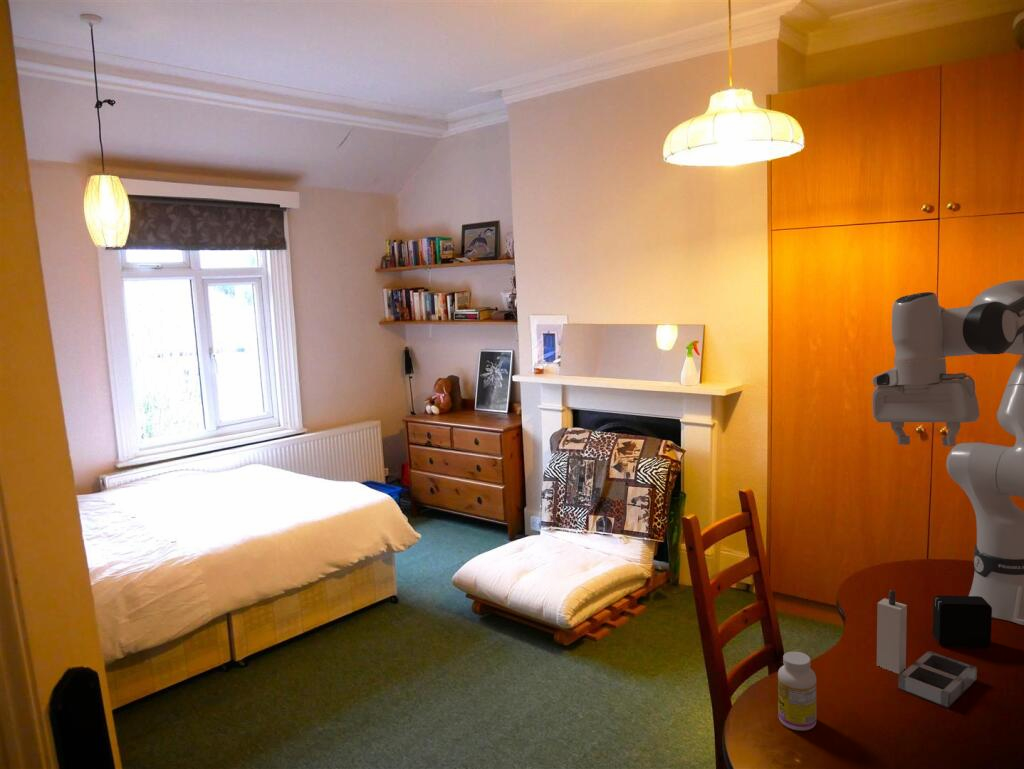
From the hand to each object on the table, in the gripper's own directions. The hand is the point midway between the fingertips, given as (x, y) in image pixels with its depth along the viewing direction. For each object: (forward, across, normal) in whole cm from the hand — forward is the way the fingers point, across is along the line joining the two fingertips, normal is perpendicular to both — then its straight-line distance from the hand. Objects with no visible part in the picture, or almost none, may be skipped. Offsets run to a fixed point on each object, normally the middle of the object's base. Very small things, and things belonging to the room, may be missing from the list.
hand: (926, 445), depth 144 cm
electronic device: (+45, +9, -19) cm, 50 cm away
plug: (+46, +11, +1) cm, 48 cm away
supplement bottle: (+49, +8, +31) cm, 59 cm away
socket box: (+48, +2, 0) cm, 48 cm away
